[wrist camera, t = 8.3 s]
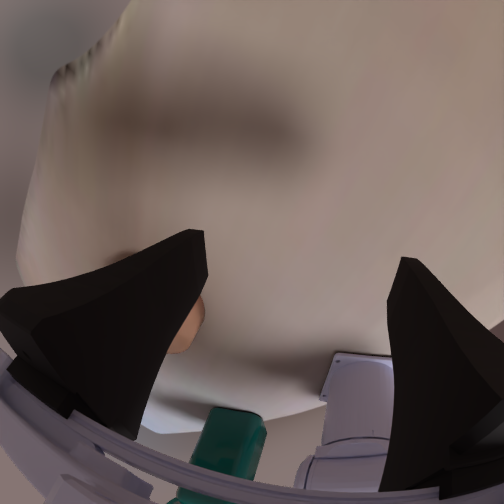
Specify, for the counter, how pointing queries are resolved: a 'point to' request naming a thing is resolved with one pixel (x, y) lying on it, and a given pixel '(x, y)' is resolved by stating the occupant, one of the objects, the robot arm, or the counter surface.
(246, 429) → the green plastic tall container
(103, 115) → the counter surface
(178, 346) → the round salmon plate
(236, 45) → the counter surface
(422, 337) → the robot arm
